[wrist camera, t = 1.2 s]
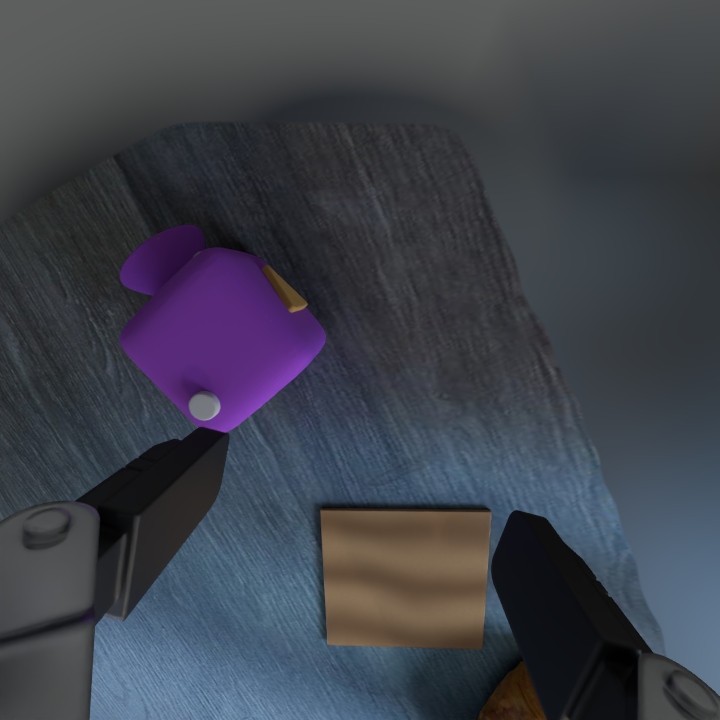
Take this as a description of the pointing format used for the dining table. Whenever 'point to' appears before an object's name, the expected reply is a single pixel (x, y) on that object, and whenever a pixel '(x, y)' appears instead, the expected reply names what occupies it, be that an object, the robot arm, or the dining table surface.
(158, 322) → the toy camera
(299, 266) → the dining table surface
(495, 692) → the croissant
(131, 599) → the robot arm
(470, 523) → the square metal plate
